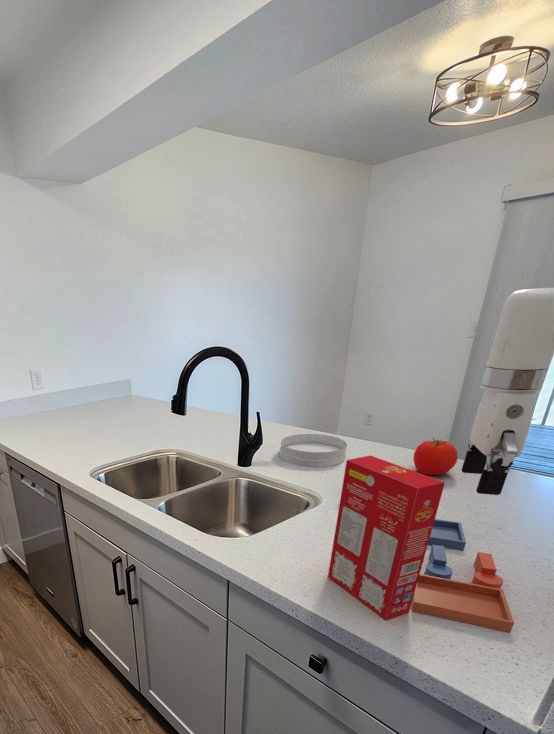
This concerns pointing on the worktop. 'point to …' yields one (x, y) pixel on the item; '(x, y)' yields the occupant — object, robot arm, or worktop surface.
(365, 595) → the food packaging
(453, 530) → the slate tray
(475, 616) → the terracotta tray
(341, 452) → the light grey ring
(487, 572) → the terracotta spoon
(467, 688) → the worktop surface
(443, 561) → the slate spoon
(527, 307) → the robot arm
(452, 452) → the tomato
